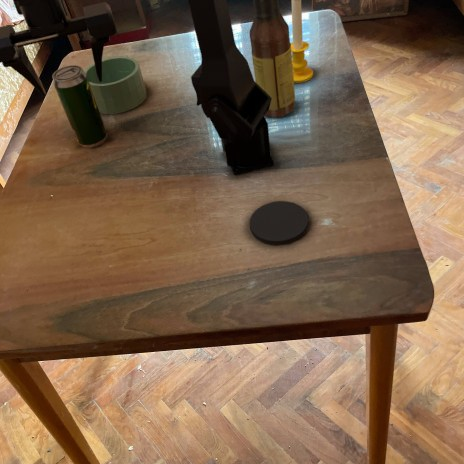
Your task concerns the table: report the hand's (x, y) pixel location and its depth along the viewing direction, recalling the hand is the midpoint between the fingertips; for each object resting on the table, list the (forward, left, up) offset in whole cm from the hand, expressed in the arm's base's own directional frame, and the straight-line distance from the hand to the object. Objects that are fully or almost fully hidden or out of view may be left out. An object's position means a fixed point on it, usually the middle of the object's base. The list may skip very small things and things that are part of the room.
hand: (72, 87), depth 83 cm
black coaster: (-24, +33, -10) cm, 42 cm away
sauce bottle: (-32, +5, -10) cm, 34 cm away
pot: (-6, -12, -10) cm, 17 cm away
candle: (-39, -4, -10) cm, 40 cm away
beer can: (0, 0, -10) cm, 10 cm away
